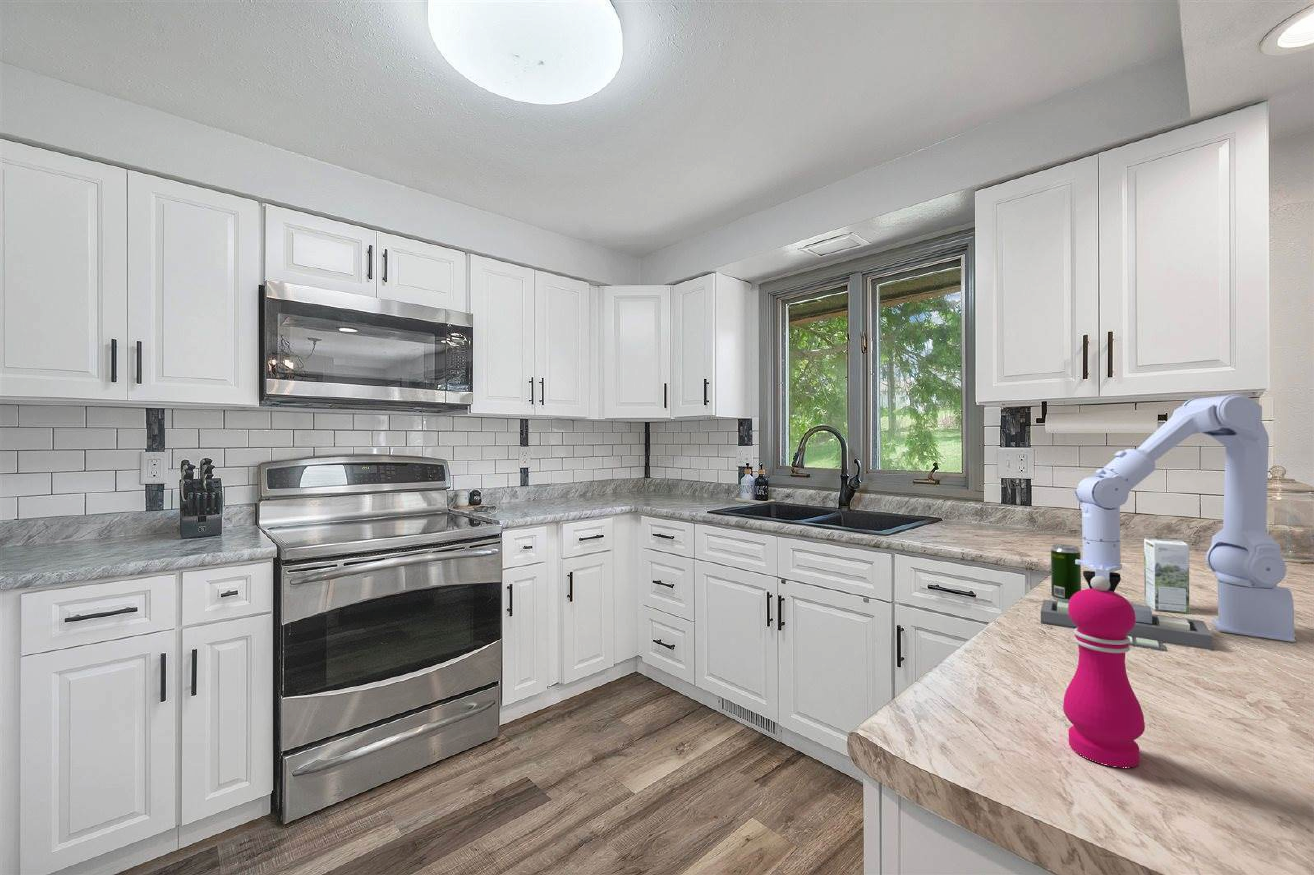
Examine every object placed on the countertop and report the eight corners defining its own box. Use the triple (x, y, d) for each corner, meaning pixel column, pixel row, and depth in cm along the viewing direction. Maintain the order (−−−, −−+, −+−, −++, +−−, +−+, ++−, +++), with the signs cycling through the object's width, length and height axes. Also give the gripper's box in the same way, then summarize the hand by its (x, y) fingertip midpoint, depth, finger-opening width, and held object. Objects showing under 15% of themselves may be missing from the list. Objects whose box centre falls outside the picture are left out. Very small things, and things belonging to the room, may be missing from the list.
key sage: (1082, 616, 110) (1082, 605, 110) (1082, 621, 107) (1082, 610, 107) (1057, 612, 112) (1057, 601, 112) (1057, 617, 109) (1056, 606, 109)
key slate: (1150, 618, 104) (1149, 606, 104) (1152, 623, 101) (1151, 611, 101) (1122, 614, 106) (1121, 602, 106) (1123, 619, 103) (1123, 607, 103)
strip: (1162, 645, 96) (1162, 640, 96) (1164, 651, 93) (1164, 647, 94) (1082, 632, 103) (1082, 628, 103) (1082, 637, 100) (1082, 633, 100)
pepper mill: (1048, 738, 66) (1045, 569, 66) (1104, 735, 67) (1101, 568, 67) (1101, 774, 59) (1098, 584, 59) (1164, 770, 60) (1160, 583, 60)
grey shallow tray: (1203, 634, 102) (1203, 621, 102) (1213, 650, 94) (1213, 636, 94) (1043, 610, 116) (1043, 599, 116) (1040, 623, 108) (1040, 610, 108)
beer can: (1075, 604, 121) (1074, 549, 121) (1047, 599, 125) (1046, 545, 125) (1085, 600, 124) (1084, 546, 124) (1057, 595, 128) (1056, 543, 128)
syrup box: (1178, 607, 119) (1177, 539, 119) (1190, 614, 113) (1189, 543, 114) (1144, 603, 121) (1143, 537, 121) (1154, 611, 116) (1153, 541, 116)
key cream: (1186, 631, 101) (1186, 619, 101) (1190, 637, 98) (1189, 625, 98) (1157, 627, 103) (1157, 615, 103) (1159, 633, 100) (1159, 620, 100)
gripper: (1075, 532, 115) (1076, 598, 115) (1074, 542, 103) (1075, 616, 103) (1119, 536, 111) (1120, 604, 110) (1123, 546, 99) (1124, 623, 99)
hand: (1102, 610), depth 107 cm, fingers closed, pressing on key terracotta
